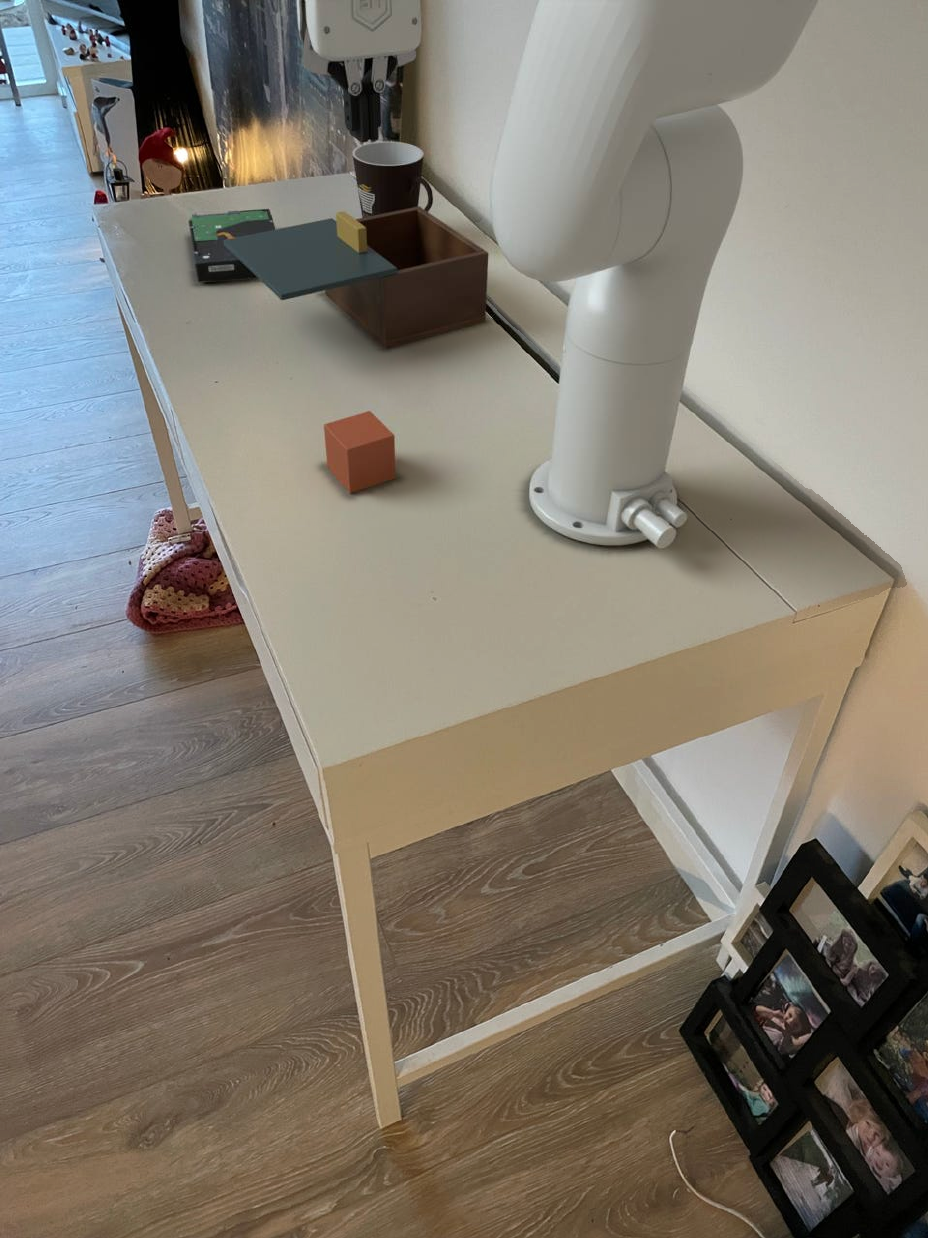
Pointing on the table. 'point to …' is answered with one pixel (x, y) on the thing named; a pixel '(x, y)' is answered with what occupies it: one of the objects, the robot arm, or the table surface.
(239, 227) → the disk drive
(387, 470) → the terracotta block
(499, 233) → the robot arm
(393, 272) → the teal box lid
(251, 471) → the table surface
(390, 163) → the coffee mug
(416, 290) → the walnut box
